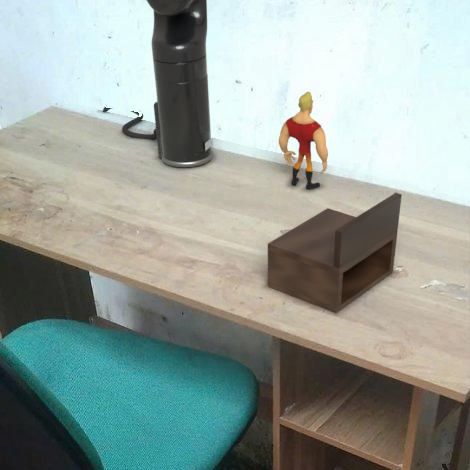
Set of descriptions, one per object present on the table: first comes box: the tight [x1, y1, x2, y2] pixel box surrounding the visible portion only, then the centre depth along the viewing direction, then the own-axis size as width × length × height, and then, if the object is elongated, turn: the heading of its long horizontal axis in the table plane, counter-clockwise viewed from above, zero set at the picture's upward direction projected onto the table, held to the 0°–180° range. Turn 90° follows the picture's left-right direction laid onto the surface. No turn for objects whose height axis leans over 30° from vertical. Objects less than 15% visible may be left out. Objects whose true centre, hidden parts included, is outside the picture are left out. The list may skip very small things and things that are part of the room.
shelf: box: [267, 192, 403, 314], centre depth 110 cm, size 12×14×12 cm
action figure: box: [278, 91, 329, 190], centre depth 132 cm, size 10×4×15 cm, turn 54°
